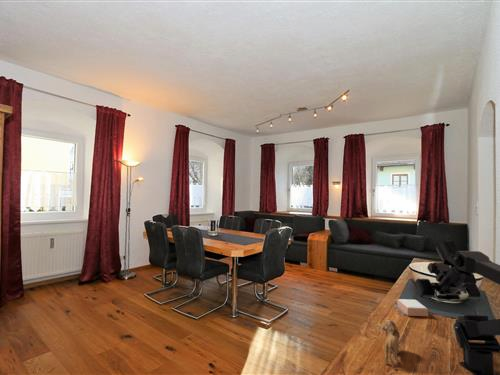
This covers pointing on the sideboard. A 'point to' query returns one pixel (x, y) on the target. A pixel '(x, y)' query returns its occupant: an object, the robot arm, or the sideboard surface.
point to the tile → (412, 307)
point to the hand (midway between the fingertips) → (437, 300)
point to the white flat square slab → (400, 310)
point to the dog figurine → (391, 341)
